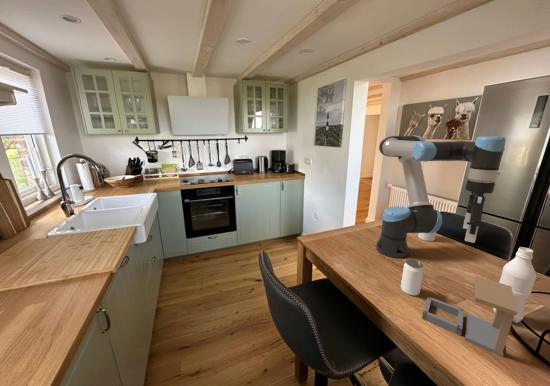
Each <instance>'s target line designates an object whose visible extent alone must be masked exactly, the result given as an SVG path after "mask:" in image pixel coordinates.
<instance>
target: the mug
mask: <svg viewBox="0 0 550 386" xmlns="http://www.w3.org/2000/svg"><path fill="white" fill-rule="evenodd" d="M436 236H437V232H434V233H418V238H419V239H420V240H421V241H424V242H431V241H432V242H434V241H435V239H436Z"/></svg>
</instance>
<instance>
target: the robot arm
mask: <svg viewBox="0 0 550 386" xmlns="http://www.w3.org/2000/svg"><path fill="white" fill-rule="evenodd" d="M505 147H506V137H504V136H502V135H500V136H498V135H497V136H493V135H492V136H491V135H490V136H489V135H488V136H486V135H485V136H477V138H476V139H475V141H468V140H467V141H466V140H455V141H427V140H425V139H424V137H422V136H420V135H414V134H413V135H390V136H387V137H385V138H383V139H382V140H381V141H380V142H379V145H378V150H379V152H380V154H382V155H383V156H385V157H391V158H392V157H393V158H397V159H398V162H399V163H401V164H402V169H403V174H404V181H405V186H406V191H407V197H408V203H409V205H408V206H407V207H406V206H399V205H396V206H395V205H394V206H389V207H387V208H386V209H384V211H383V215H382V221H381V232H380V233H381V234H380V236H379V238H378V240H377V242H376V245H375V249H376V251H378V253H379V254H381V255H384V256H385V257H386V256H387V257H391V258H394V259H396V258H397V259H402V258H406V257H408V256H409V250H410V249H409V246H408V242H407V238H408V236H407V235H408V234H419V233H434V232H436V233H437V232H438V231H439V230H440V229H441V227H442V225H443V216H442V215H443V214H441V212H440V211H439V210H437V209H435V206H434V204H433V203H431V202H430V200H429V197H428V196H429V195H428V192H427V186H426V180H425V176H424V171H423V166H422V162H427V163H428V162H439V161H440V162H468V163H470V166H469V171H468V174H467V179H468V180H467V181H466V184H465V190H466V191H468V192H471V194H469V197H468V198H469V199H468V203H467V205H466V209H465V210H466V213H465V216H464V217H465V218H464V220H463V225H462V229H465V230H466V233H465V237H464V241H465V242H469V243H472V244H473V243H474V244H475V242H476V240H477V235H478V231H479V227H480V226H482V225H481V224H482V223H481V222H482V217H483V216H482V215H483V210H484V204H485V201H486V197H485V195H484V194H493V192H494V189H495V185H496V181H497V178H498V176H499V175H500V174H501V173H500V172H499V170H500V167H501V163H502V158H503V154H504V152H505Z"/></svg>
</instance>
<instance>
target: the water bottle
mask: <svg viewBox="0 0 550 386" xmlns="http://www.w3.org/2000/svg"><path fill="white" fill-rule="evenodd" d="M533 254H534V250H533V249H531V248H530V247H529V248H528V247H524V246H523V247H522V246H520V247H519V248H518V250H517V251H516V253H515V257H514V258H512V259H511V260H510V261H508V262H507V263H506V264H504V265H503V267H502V272H501V276H500V279H499V282H498V283H502V284H505V285H508V286H511V287H512V291H513V295H514V299H515V304H516V308H517V315H516V316H515V315H514V318H513V321H512V323H516V324H517V323H519V322H521V321H522V320H523V319H524V317H525V305H526V300H527V299H528V298H529V297H530V295H532V290H533V287H534V284H535V282H536V281H537V273H536V270H535V268H534V266H533V264H532V260H533V258H534V257H533ZM492 311H493V313H494V314H495V312H496V309H495V308H493V307H492Z"/></svg>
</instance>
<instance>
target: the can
mask: <svg viewBox="0 0 550 386" xmlns="http://www.w3.org/2000/svg"><path fill="white" fill-rule="evenodd" d="M402 270H403V271H402V275H401V276H402V277H401V282H400V290H401V291H402V292H403V293H404V294H406V295H408V296H413V297H416V296H419V295H420V294H421V288H422V283H423V282H422V281H423V276H424V265H423V263H422V262H420V261H418V260H415V259H407V260H405V262H404V264H403V269H402Z"/></svg>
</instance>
